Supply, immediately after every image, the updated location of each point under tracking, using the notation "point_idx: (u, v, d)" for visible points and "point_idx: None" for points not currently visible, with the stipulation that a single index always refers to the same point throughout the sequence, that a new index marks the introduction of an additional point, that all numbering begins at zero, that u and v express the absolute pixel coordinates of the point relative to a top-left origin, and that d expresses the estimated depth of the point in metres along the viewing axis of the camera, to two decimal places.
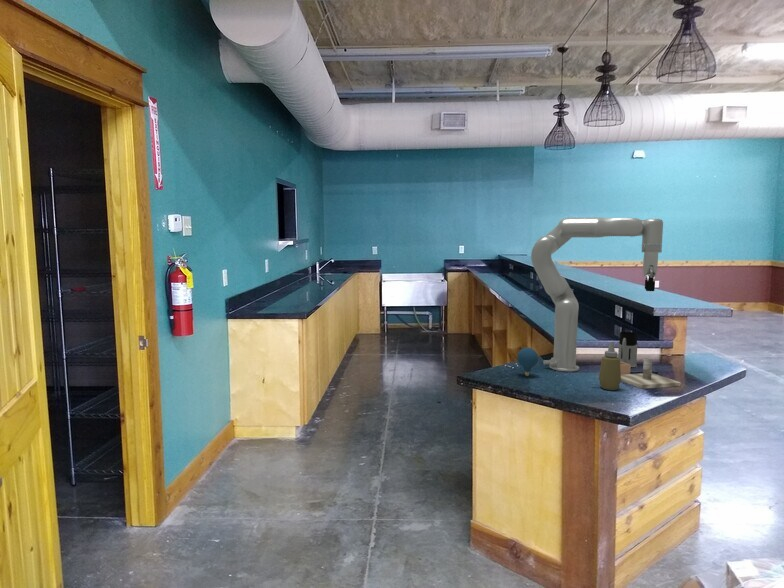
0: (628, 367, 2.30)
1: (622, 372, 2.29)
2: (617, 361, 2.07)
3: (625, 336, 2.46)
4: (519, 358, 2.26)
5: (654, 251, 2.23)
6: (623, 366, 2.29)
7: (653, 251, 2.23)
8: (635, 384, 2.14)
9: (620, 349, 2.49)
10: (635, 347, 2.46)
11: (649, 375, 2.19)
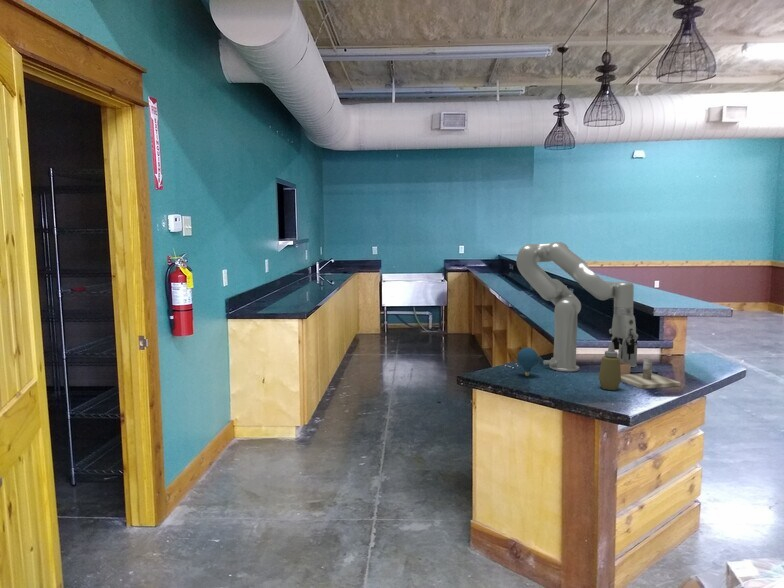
0: (628, 367, 2.30)
1: (622, 372, 2.29)
2: (617, 361, 2.07)
3: None
4: (519, 358, 2.26)
5: None
6: (623, 366, 2.29)
7: None
8: (635, 384, 2.14)
9: (620, 349, 2.49)
10: (635, 347, 2.46)
11: (649, 375, 2.19)
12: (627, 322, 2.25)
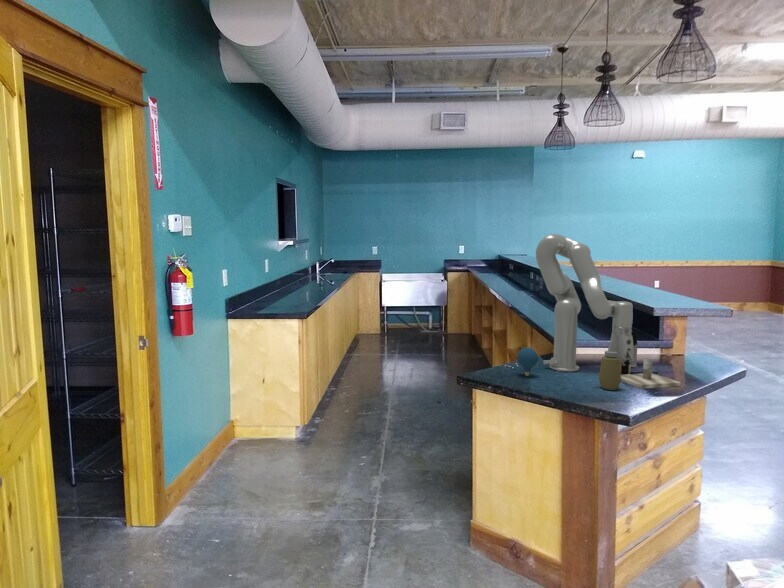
0: None
1: None
2: (617, 361, 2.07)
3: None
4: (519, 358, 2.26)
5: None
6: None
7: None
8: (635, 384, 2.14)
9: None
10: (635, 347, 2.46)
11: (649, 375, 2.19)
12: (625, 342, 2.26)
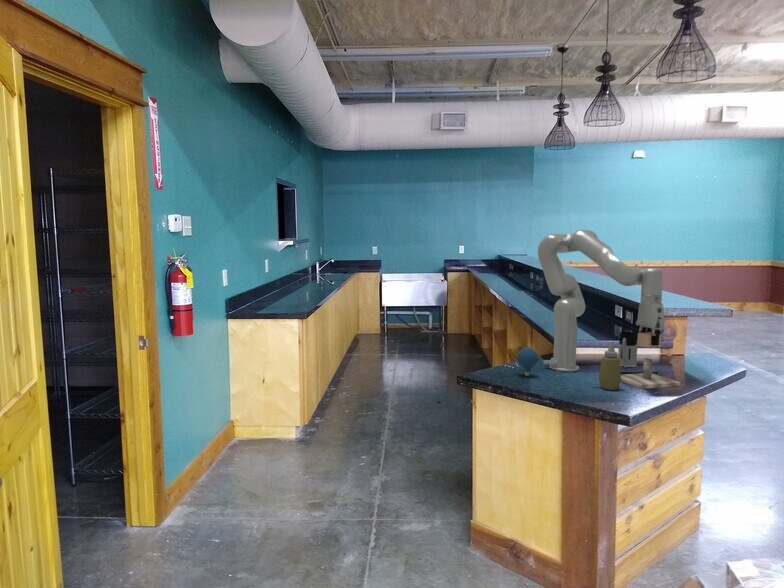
0: None
1: None
2: (617, 361, 2.07)
3: (625, 336, 2.46)
4: (519, 358, 2.26)
5: None
6: None
7: None
8: (635, 384, 2.14)
9: (620, 349, 2.49)
10: (635, 347, 2.46)
11: (649, 375, 2.19)
12: (655, 310, 2.13)
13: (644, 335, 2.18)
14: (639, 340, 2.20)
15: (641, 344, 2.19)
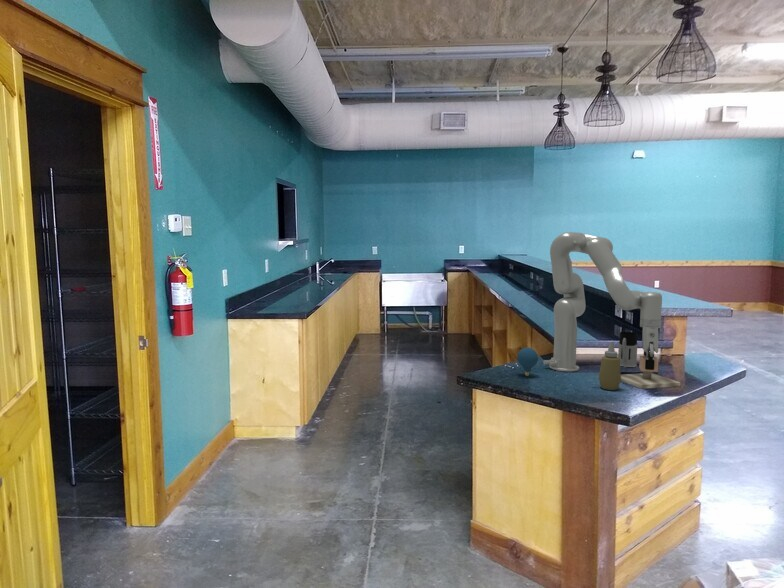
0: (655, 362, 2.16)
1: None
2: (617, 361, 2.07)
3: (625, 336, 2.46)
4: (519, 358, 2.26)
5: None
6: None
7: None
8: (635, 384, 2.14)
9: (620, 349, 2.49)
10: (635, 347, 2.46)
11: (649, 375, 2.19)
12: (647, 334, 2.15)
13: (641, 358, 2.20)
14: (639, 363, 2.23)
15: (640, 367, 2.22)
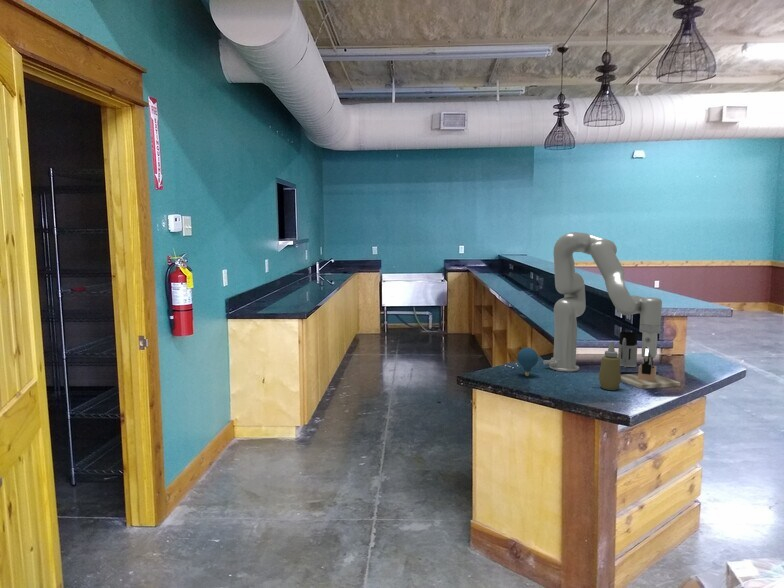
0: (652, 371, 2.17)
1: (644, 375, 2.18)
2: (617, 361, 2.07)
3: (625, 336, 2.46)
4: (519, 358, 2.26)
5: None
6: None
7: None
8: (635, 384, 2.14)
9: (620, 349, 2.49)
10: (635, 347, 2.46)
11: None
12: (643, 339, 2.16)
13: (639, 367, 2.21)
14: None
15: None
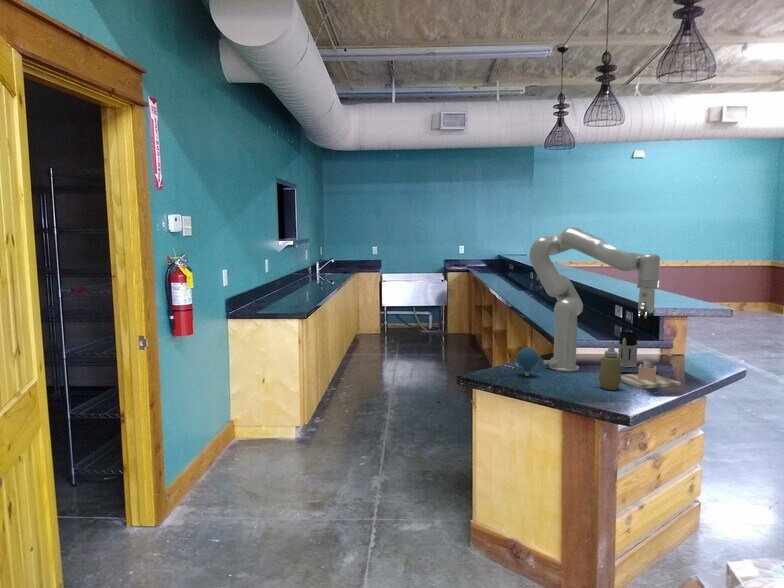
0: (652, 371, 2.17)
1: (644, 375, 2.18)
2: (617, 361, 2.07)
3: (625, 336, 2.46)
4: (519, 358, 2.26)
5: None
6: (645, 369, 2.18)
7: None
8: (635, 384, 2.14)
9: (620, 349, 2.49)
10: (635, 347, 2.46)
11: None
12: (640, 294, 2.19)
13: (639, 367, 2.21)
14: None
15: None
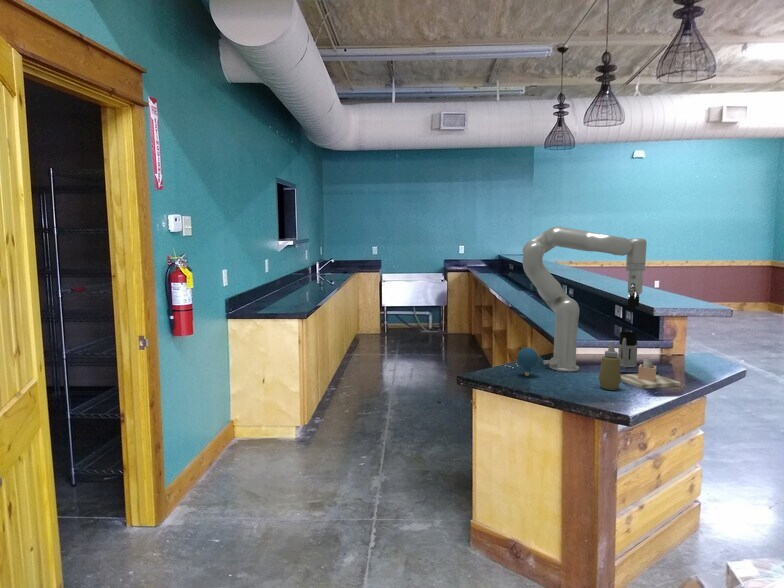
0: (652, 371, 2.17)
1: (644, 375, 2.18)
2: (617, 361, 2.07)
3: (625, 336, 2.46)
4: (519, 358, 2.26)
5: None
6: (645, 369, 2.18)
7: None
8: (635, 384, 2.14)
9: (620, 349, 2.49)
10: (635, 347, 2.46)
11: None
12: (629, 277, 2.32)
13: (639, 367, 2.21)
14: None
15: None
